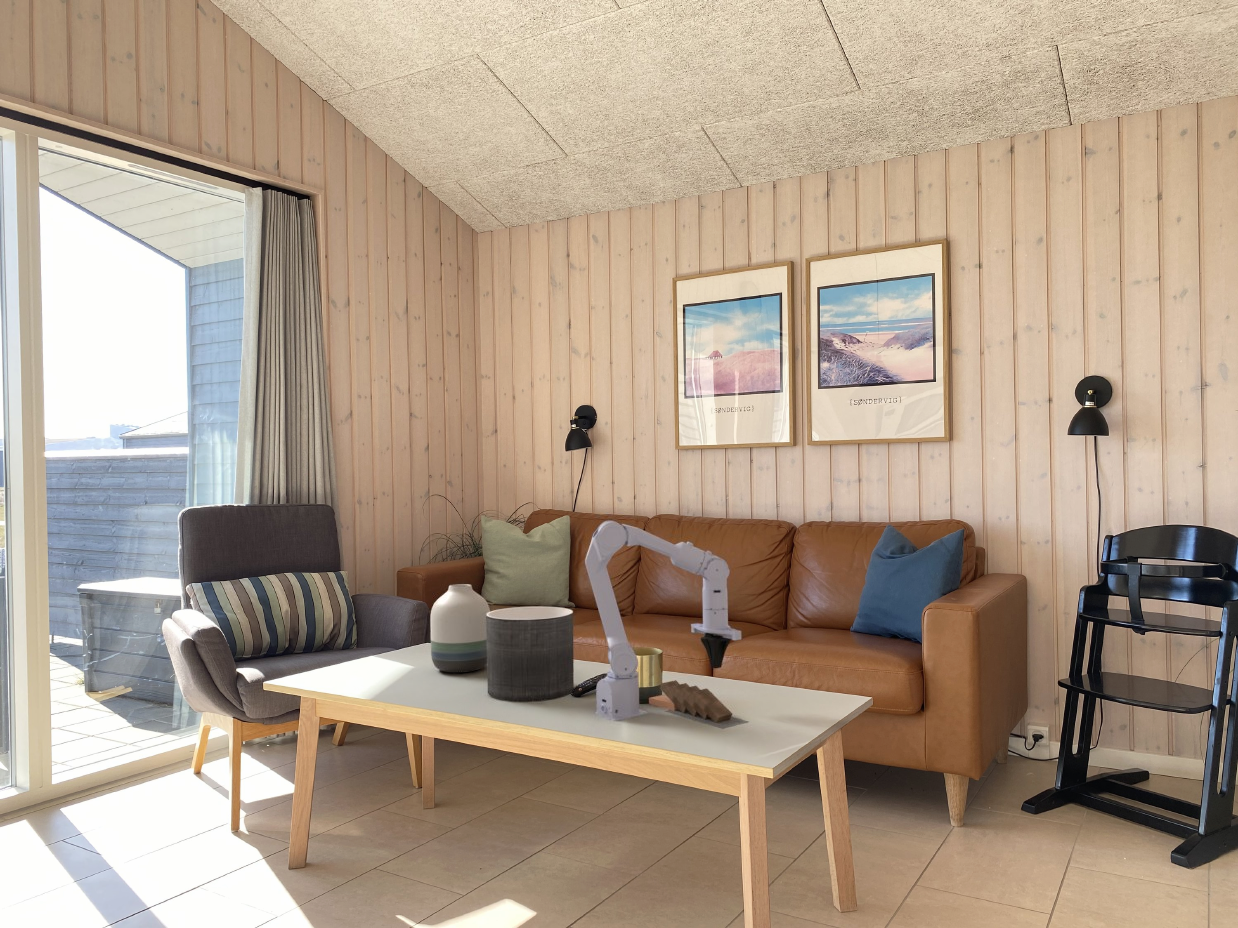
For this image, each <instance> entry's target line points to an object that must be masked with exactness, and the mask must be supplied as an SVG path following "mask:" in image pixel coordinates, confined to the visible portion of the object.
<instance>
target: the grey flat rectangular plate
mask: <svg viewBox="0 0 1238 928" xmlns="http://www.w3.org/2000/svg"><path fill="white" fill-rule="evenodd" d="M664 712H666V713H668V714H672V715H676V716H679V717H683V718H686V719H689V720H692V721H696V722H698V723H702V724H706V725H709V726H711V727H712V726H713V727H716V728H719V729H721V730H722V729H727V728H728V729H729V728H731V727H735V726H738V725H742V724H747V723H749V722H750V720H749V721H748V720H744V719H741V718H737V717H733V716H731V719H730V720H726V721H722V722H718V723H715V722H714V721H713V720H712V719H711V718H710V719H706V720H704V719H703V718H702V716H701V715H699V716H695V717H694V716H693V715H692V714H691V713H690V712H687V713H683V712H682V711H681V710H680V709H679V710H675V711H674V710H669V709H666V710H664Z"/></svg>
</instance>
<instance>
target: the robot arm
mask: <svg viewBox="0 0 1238 928" xmlns="http://www.w3.org/2000/svg"><path fill="white" fill-rule="evenodd" d="M590 541H591V542H590V543H589V544H590V545H589V547H588V550H587V553H586V556H585V559H584V562H585V563H584V564H585V567H586V571H587V574H588V578H589V581H590V586H591V588H592V589H591V590H592V592H593V595H594V598H595V603H596V607H597V608H598V613H599V616H600V620H601V623H602V627H603V631H604V633H605V637H606V642H607V645H608V652H607V659H608V662H609V665H610V666H609V667H610V668H609V669H608V671H607V672H606V676H605V677H604V678H602V679H600V680H598V682H597V684H596V691H595V695H596V697H595V698H596V700H595V701H596V711H595V712H594V715H595V716H598V717H602V718H605V719H608V720H611V721H614V722H615V721H616V722H617V721H621V720H622V721H623V720H627V719H631V718H635V717H638V716H644V715H647V714H648V711H646V710H643V709H640V685H639V683H640V681H639V680H640V679H639V677H640V676H639V671H637V670H638V667H639V659H638V656H637V655H636V654H635V651H634V648H633V647H632V646H631V645H630V643H629V640H628V637H627V634H626V631H625V627H624V624H623V620H622V617H621V613H620V609H619V607H618V604H617V599H616V595H615V592H614V589H613V586H612V582H611V579H610V576H609V572H608V568H607V566H608V563H609V562H610V561H611V559H612V557H613V556H614V554H615V553H617V552H618V551H619V550H620V549H621V548H622V547H624V545H626V546H627V547H634V546H641V547H643V548H646V549H649V550H651V551H653V552H657V553H659V554H662V555H664V556H667V557H669V559H670V561H671V564H672V565H673V566H675V567H677V568H680V569H683V570H685V571H687V572H689V573H692V574H694V575H696V576H699V575H701V577H702V589H701V590H702V623H698V622H697V623H691V624H690V627H691V628H690V629H691V633H692V634H693V633H695V634H697V633H698V634H703V635H704V636H702V637H700V641H701V643H702V645H703V647H704V649H705V650H706V651H705V652H706V653H707V657H708V660H709V663H710V668H711V669H721V668H722V665H723V661H724V656H725V653H726V650H727V648H728V646H729V645H730V642H731V641H740V640H742V630H737V629H735V628H732V627H731V626H730V625H729V615H728V613H729V611H728V609H729V606H728V605H729V603H728V602H729V601H728V587H727V584H728V583H727V582H728V581H727V579H728V578H729V575H730V571H731V570H730V569H729V565H728V563H727V562H726V561H725V559H723V558H721V557H720V556H717V555H715V554H712V551H711V550H702V549H701V548H698V547H695V546H694V543H692V542H690V541H687V542H685V541H680V542H678V543H676V544H673V543H671V542H670V541H667V540H665V539H663V538H661V537H658V536H657V535H654V534H652V533H650V532H648V531H645V530H643V529H641V528H639V527H636V526H632V525H629V524H625V523H621V524H620V523H618V522H617V521H615V520H605V521H603V522H602V523H601V524H600V525H598V527H597V529H596V530H595V531H594V532H593V534H592V537H591V540H590Z"/></svg>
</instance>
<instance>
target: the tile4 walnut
mask: <svg viewBox="0 0 1238 928" xmlns="http://www.w3.org/2000/svg"><path fill="white" fill-rule="evenodd" d="M679 684H680V683H679V682H678V681H677V680H670V681H666V682H661V685H660V689H659V690H661V692H662V693H663V694H664V695H666V696H667V697H668V698H669V699H670V700H671V701H672V702H673V703H674V704H675V705H676V706H677V707H678V708H679V709H680V710H681V711H682V712H683V713H687V712H689V711H688V710H687V709H686V708H685V707H684V706H683V705H682V704H681V703H680V702H679V701H678V699H677V698H676V697H675V696H674V695H673V694H672V693H671V692H670V690H671V688H672V686H675V685H679Z"/></svg>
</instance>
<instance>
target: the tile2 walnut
mask: <svg viewBox="0 0 1238 928" xmlns="http://www.w3.org/2000/svg"><path fill="white" fill-rule="evenodd" d="M697 690H701V689H700V688H699V687H698V686H697V685H693V686H690V687H687V688H683V689H682V690H681V693H680V695H681V696H682V697H683V698H684V699H685V700H686V701H687V702H688V703H689V704H690V705H691V706H692V707H693V708H694V709H695V710H696V711H697V712H698V713H699V714H700V715H701V716H702V718H703V719H704V720H706V719H710V717H709V716H708V715H707V714H706V712H705V711H704V710H703V709H702V708H701V707H700V706H699V705H698V704H697V703H696V702H695V701H694V700H693V699H692V698H691V695H692V692H693V691H697Z"/></svg>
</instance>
